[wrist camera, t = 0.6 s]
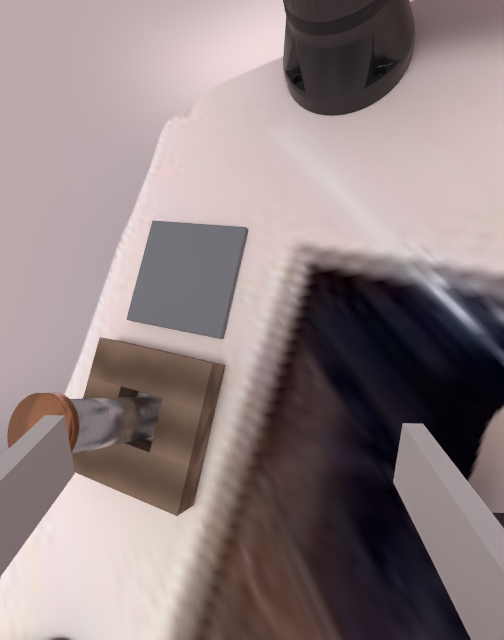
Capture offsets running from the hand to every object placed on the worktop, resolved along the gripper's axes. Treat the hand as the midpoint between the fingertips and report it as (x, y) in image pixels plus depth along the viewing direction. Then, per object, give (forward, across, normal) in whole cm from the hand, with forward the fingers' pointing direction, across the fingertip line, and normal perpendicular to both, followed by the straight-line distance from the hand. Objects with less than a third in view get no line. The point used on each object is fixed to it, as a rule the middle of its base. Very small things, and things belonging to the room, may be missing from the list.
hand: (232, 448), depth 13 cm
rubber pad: (+32, -8, +1) cm, 34 cm away
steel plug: (+25, -12, -15) cm, 32 cm away
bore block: (+25, -12, -15) cm, 32 cm away
